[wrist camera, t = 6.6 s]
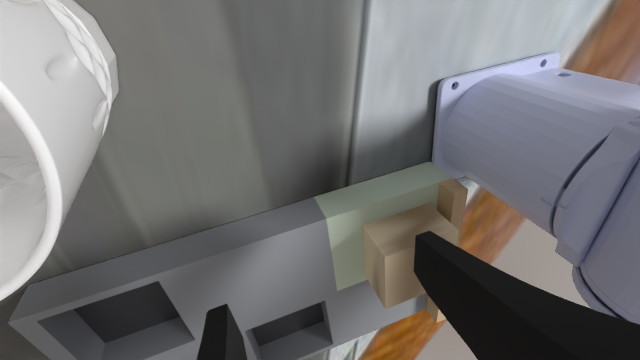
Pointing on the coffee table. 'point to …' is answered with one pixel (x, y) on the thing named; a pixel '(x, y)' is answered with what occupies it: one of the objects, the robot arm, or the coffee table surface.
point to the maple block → (400, 251)
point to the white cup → (47, 123)
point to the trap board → (240, 281)
